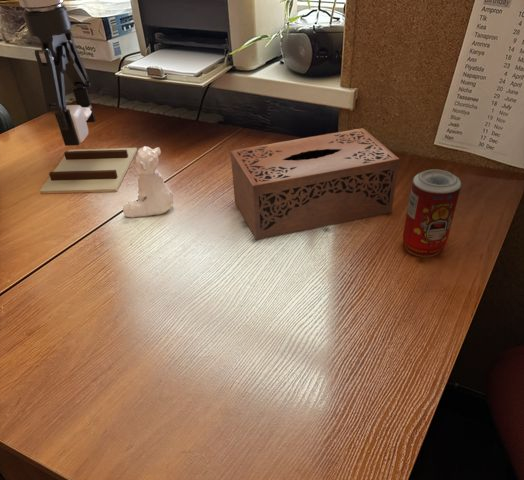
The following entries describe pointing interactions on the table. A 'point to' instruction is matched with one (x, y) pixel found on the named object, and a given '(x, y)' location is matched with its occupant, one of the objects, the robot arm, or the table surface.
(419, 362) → the table surface
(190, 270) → the table surface
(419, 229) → the red snack canister
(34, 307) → the table surface
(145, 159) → the sitting furry creature
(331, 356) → the table surface
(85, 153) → the slot mat
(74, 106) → the power adapter
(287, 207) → the tissue box cover
